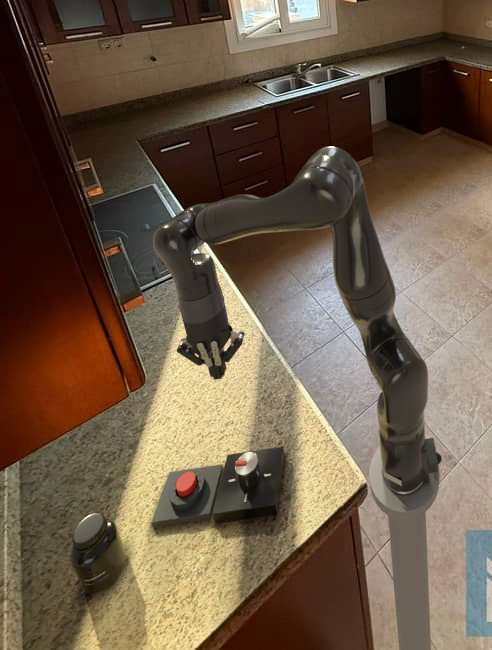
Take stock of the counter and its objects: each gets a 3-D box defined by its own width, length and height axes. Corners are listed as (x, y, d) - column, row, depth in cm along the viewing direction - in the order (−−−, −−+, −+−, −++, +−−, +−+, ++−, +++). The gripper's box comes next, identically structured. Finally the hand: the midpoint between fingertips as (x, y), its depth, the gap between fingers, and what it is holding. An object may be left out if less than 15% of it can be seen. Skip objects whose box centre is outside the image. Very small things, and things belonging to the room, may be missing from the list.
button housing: (223, 469, 93) (220, 458, 92) (211, 519, 85) (207, 507, 84) (171, 477, 92) (167, 466, 91) (153, 528, 84) (149, 516, 83)
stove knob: (263, 465, 91) (259, 449, 89) (257, 489, 87) (254, 473, 85) (242, 467, 91) (238, 451, 89) (235, 491, 86) (231, 474, 85)
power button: (199, 475, 89) (197, 470, 89) (193, 495, 86) (191, 490, 85) (181, 478, 89) (179, 472, 88) (174, 498, 86) (172, 492, 85)
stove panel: (285, 455, 95) (283, 445, 94) (277, 514, 85) (274, 504, 84) (229, 463, 94) (227, 454, 93) (214, 524, 84) (211, 513, 83)
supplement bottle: (93, 606, 73) (73, 563, 70) (76, 578, 77) (56, 536, 73) (134, 562, 79) (118, 520, 75) (116, 538, 82) (100, 496, 79)
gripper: (158, 326, 77) (178, 397, 83) (233, 317, 78) (248, 387, 84) (174, 297, 84) (192, 363, 90) (243, 289, 86) (256, 355, 91)
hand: (219, 375), depth 87 cm, fingers closed
